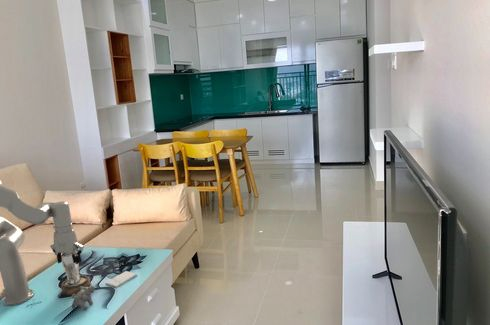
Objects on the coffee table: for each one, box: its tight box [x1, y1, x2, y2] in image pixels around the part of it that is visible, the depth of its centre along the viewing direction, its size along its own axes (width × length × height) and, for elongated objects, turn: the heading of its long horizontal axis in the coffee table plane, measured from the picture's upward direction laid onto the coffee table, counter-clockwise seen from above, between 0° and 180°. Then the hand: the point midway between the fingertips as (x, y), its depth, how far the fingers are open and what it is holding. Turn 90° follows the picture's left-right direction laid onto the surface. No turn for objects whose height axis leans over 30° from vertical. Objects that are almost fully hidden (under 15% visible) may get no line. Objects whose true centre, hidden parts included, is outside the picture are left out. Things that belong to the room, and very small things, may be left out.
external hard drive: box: [105, 270, 138, 289], centre depth 197 cm, size 2×8×12 cm
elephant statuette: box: [71, 285, 96, 311], centre depth 178 cm, size 9×12×8 cm
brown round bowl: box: [60, 274, 92, 297], centre depth 193 cm, size 13×13×4 cm
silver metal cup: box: [61, 253, 81, 285], centre depth 191 cm, size 7×7×15 cm
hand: (69, 262), depth 190 cm, fingers open, 9 cm apart
